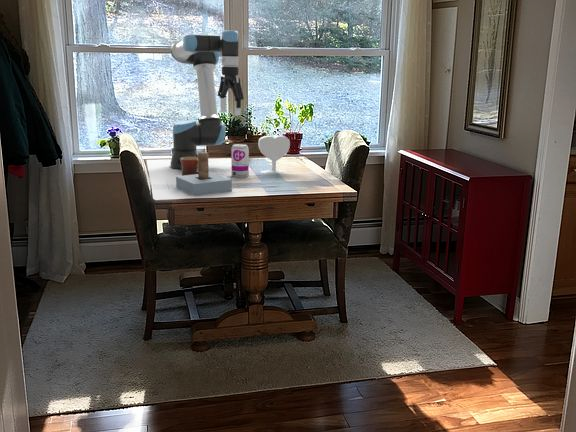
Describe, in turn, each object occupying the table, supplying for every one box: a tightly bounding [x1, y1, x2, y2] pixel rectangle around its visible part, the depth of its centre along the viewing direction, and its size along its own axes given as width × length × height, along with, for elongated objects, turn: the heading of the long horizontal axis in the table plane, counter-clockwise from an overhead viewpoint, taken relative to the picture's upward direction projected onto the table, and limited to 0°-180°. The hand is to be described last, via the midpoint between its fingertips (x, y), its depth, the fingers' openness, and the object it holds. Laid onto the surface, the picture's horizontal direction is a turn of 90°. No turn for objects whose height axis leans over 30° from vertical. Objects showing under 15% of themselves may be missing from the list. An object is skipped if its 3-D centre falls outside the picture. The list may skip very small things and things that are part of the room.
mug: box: [180, 157, 198, 176], centre depth 285 cm, size 12×9×10 cm
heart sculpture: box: [257, 135, 291, 174], centre depth 307 cm, size 16×5×18 cm, turn 104°
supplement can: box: [230, 143, 250, 178], centre depth 296 cm, size 8×8×15 cm
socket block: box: [175, 172, 233, 197], centre depth 269 cm, size 18×18×5 cm
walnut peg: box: [197, 151, 210, 180], centre depth 267 cm, size 4×4×16 cm
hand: (230, 113), depth 283 cm, fingers open, 13 cm apart
